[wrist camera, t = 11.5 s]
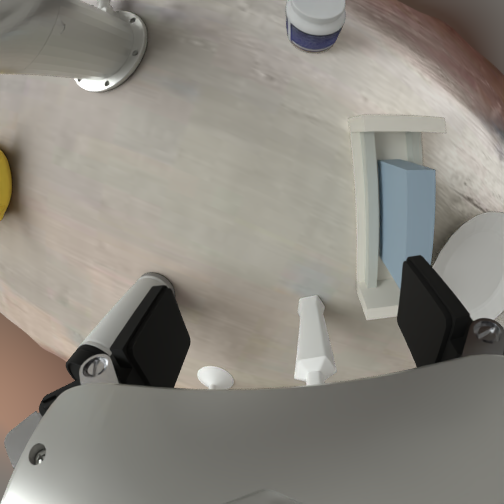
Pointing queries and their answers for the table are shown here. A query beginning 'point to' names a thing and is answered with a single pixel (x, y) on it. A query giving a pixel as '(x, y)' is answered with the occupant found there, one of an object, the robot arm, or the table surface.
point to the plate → (476, 265)
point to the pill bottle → (314, 23)
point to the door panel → (405, 213)
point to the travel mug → (113, 322)
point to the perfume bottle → (313, 343)
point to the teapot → (4, 184)
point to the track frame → (367, 197)
